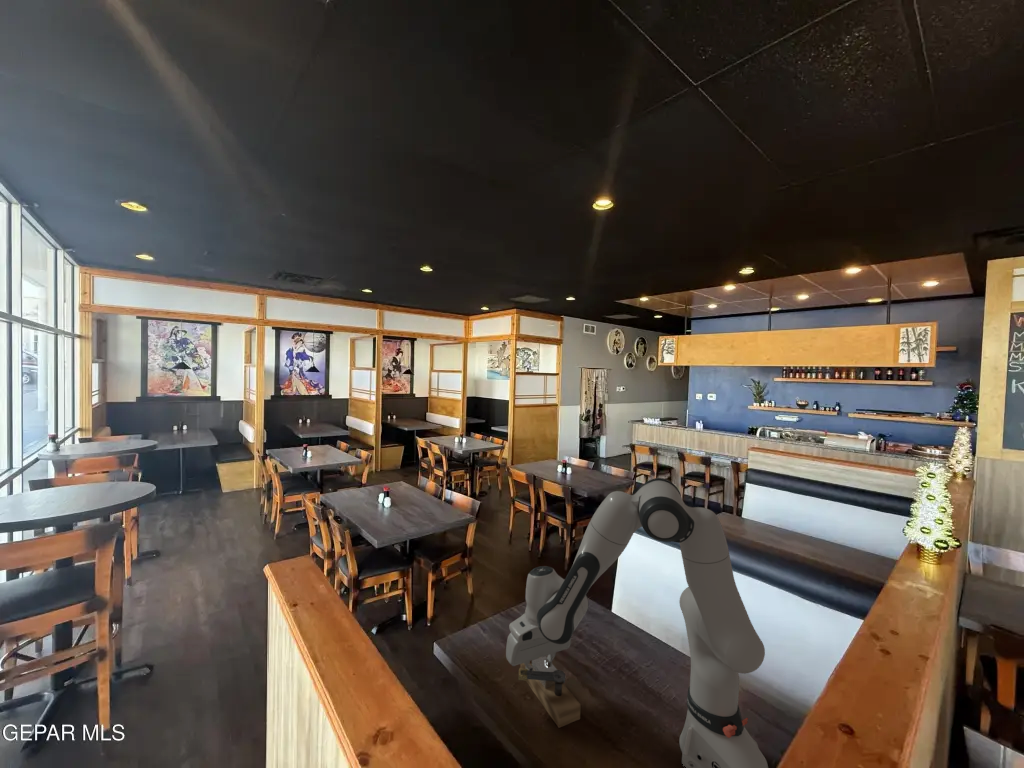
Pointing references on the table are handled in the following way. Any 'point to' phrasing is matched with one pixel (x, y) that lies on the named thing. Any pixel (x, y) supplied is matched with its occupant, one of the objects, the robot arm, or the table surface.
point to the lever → (542, 675)
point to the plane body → (556, 701)
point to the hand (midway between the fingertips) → (538, 669)
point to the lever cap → (543, 670)
